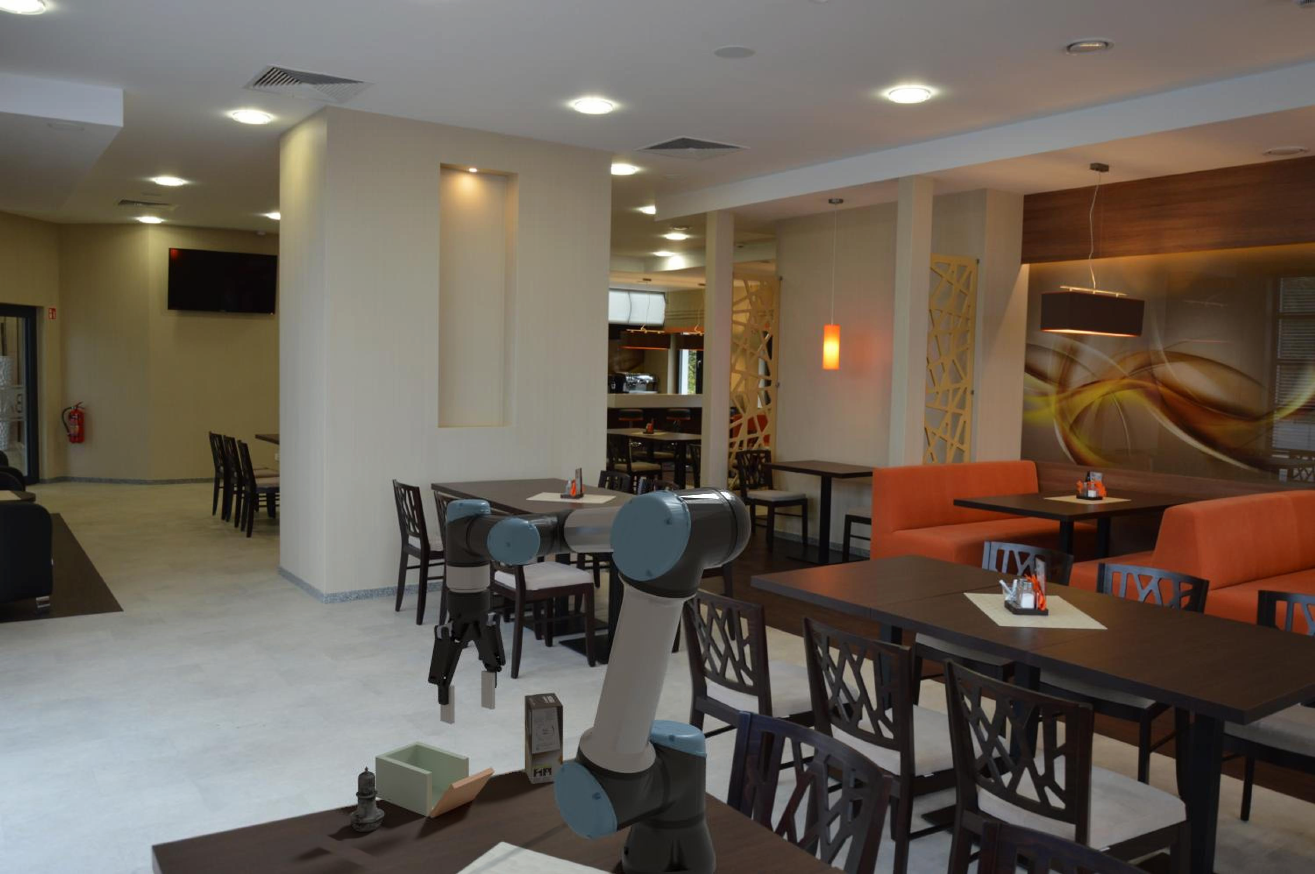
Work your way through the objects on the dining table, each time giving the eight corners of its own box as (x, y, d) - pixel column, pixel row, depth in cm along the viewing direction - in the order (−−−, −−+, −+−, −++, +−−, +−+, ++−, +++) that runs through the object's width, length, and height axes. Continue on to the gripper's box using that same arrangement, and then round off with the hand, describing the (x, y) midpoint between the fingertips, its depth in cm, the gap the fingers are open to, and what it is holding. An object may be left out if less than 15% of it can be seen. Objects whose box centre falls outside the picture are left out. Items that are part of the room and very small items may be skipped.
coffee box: (564, 787, 192) (564, 705, 191) (531, 791, 190) (531, 708, 189) (554, 770, 201) (554, 691, 200) (523, 773, 199) (523, 694, 198)
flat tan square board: (472, 801, 182) (494, 771, 179) (431, 819, 175) (454, 788, 171) (469, 796, 183) (491, 766, 179) (428, 814, 175) (451, 783, 171)
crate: (468, 805, 183) (468, 757, 183) (426, 824, 175) (426, 774, 175) (417, 787, 191) (417, 741, 191) (375, 804, 183) (375, 756, 183)
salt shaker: (374, 844, 167) (374, 774, 167) (342, 841, 168) (342, 771, 168) (390, 829, 173) (390, 761, 172) (359, 826, 174) (359, 759, 174)
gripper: (497, 576, 185) (497, 695, 186) (405, 595, 167) (405, 726, 168) (526, 581, 181) (526, 703, 182) (435, 601, 163) (435, 736, 164)
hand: (468, 714), depth 175 cm, fingers open, 9 cm apart
